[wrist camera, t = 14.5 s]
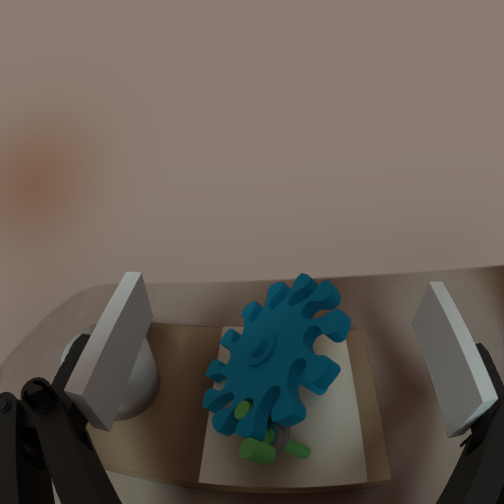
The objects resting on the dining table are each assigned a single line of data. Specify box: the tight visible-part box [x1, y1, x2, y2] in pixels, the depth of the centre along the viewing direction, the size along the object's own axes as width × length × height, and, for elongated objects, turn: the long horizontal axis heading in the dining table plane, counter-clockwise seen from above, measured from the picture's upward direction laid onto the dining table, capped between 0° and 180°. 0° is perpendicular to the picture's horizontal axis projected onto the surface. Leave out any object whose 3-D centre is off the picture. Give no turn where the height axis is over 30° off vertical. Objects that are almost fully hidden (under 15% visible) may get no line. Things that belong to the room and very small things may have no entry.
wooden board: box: [61, 323, 391, 494], centre depth 18 cm, size 20×12×4 cm, turn 87°
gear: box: [203, 273, 351, 465], centre depth 17 cm, size 11×6×10 cm
